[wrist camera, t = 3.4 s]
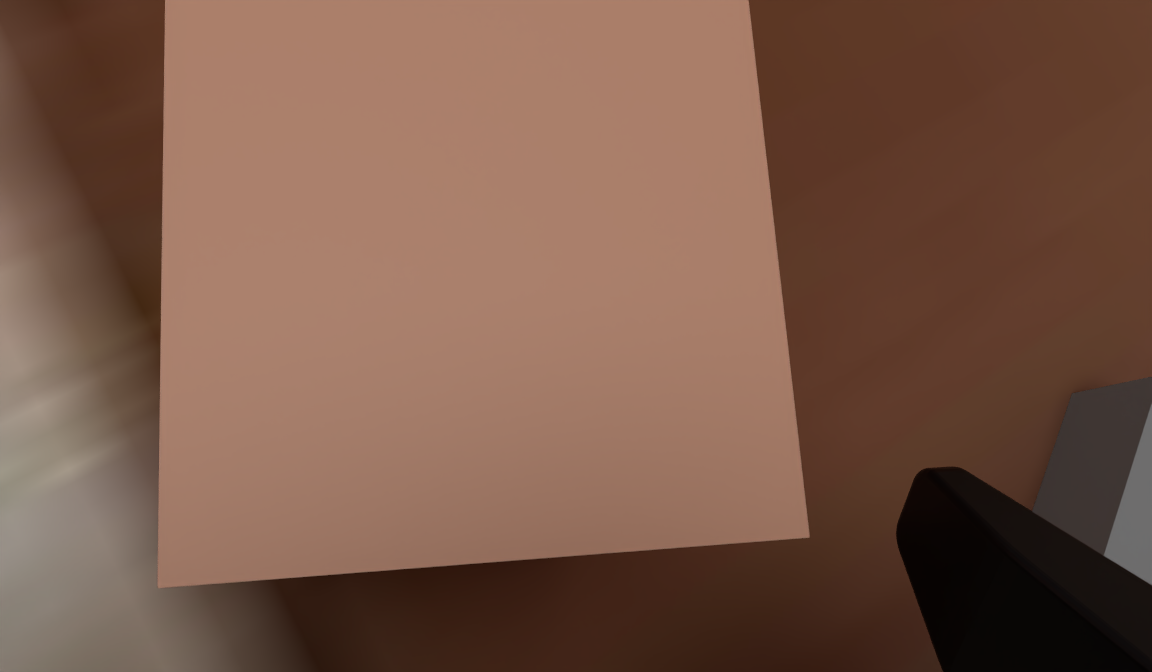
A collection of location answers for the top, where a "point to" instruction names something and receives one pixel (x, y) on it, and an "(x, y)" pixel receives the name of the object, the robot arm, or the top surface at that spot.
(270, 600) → the top surface
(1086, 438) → the base brick
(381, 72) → the tall brick
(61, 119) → the top surface
